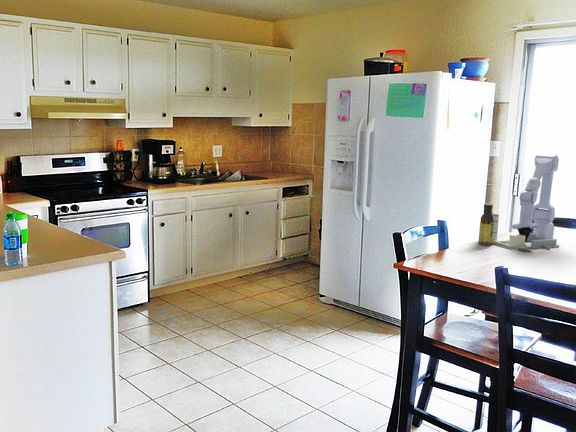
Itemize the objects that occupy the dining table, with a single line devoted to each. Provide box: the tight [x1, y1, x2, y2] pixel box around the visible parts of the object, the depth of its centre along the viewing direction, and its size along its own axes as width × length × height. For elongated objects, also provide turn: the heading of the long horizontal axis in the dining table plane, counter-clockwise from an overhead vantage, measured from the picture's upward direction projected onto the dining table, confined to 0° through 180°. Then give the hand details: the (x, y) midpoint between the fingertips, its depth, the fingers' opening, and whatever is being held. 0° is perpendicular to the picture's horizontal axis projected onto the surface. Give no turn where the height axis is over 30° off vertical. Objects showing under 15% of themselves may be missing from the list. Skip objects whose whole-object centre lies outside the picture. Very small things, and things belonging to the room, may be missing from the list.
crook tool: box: [541, 244, 560, 251], centre depth 263 cm, size 10×4×1 cm, turn 112°
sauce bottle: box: [478, 203, 494, 247], centre depth 264 cm, size 7×6×20 cm
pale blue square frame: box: [526, 233, 558, 249], centre depth 271 cm, size 15×14×4 cm
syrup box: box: [492, 211, 500, 243], centre depth 273 cm, size 6×6×14 cm
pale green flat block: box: [492, 239, 528, 250], centre depth 265 cm, size 10×11×2 cm
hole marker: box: [516, 248, 532, 253], centre depth 256 cm, size 6×6×1 cm
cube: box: [508, 233, 526, 245], centre depth 267 cm, size 5×5×5 cm
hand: (523, 242), depth 268 cm, fingers closed
